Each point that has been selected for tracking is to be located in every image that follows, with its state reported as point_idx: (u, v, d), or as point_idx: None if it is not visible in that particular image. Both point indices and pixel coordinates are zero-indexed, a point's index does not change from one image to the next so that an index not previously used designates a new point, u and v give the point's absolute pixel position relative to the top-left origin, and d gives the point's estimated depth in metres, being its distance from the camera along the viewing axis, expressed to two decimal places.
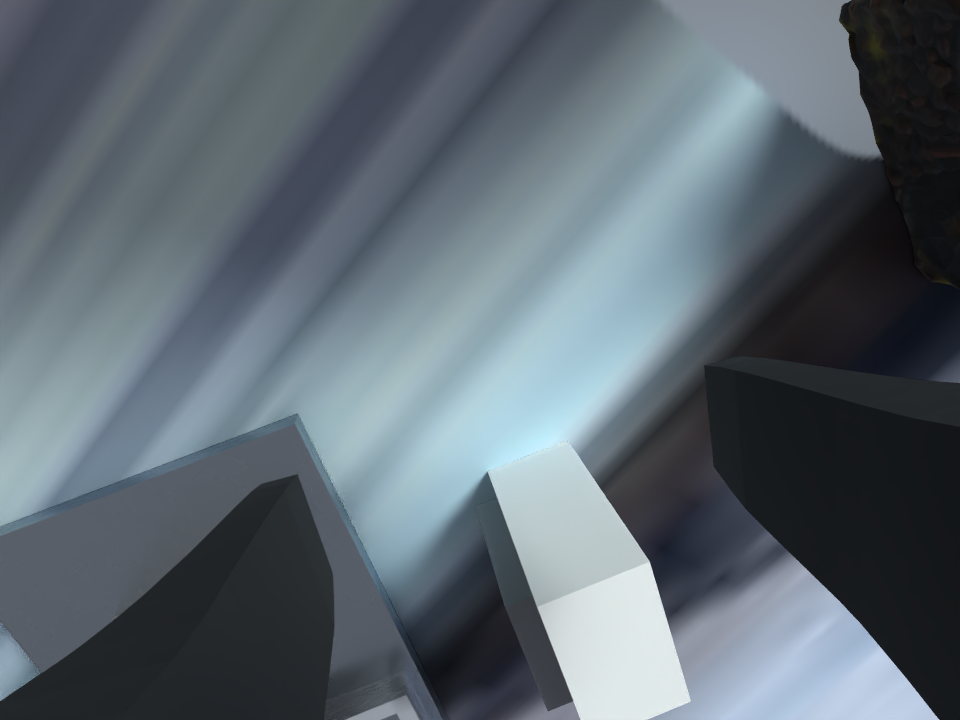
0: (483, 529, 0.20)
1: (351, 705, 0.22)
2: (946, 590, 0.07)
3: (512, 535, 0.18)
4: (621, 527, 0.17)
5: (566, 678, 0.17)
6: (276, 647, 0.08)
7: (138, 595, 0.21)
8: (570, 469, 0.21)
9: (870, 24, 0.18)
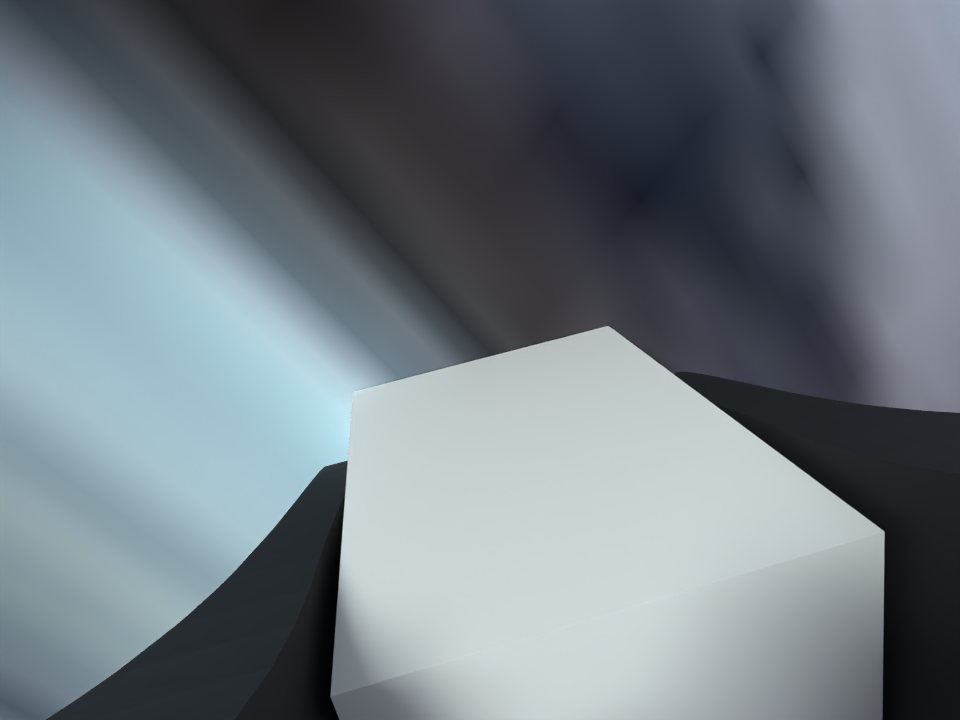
0: None
1: None
2: None
3: None
4: None
5: None
6: None
7: None
8: None
9: None
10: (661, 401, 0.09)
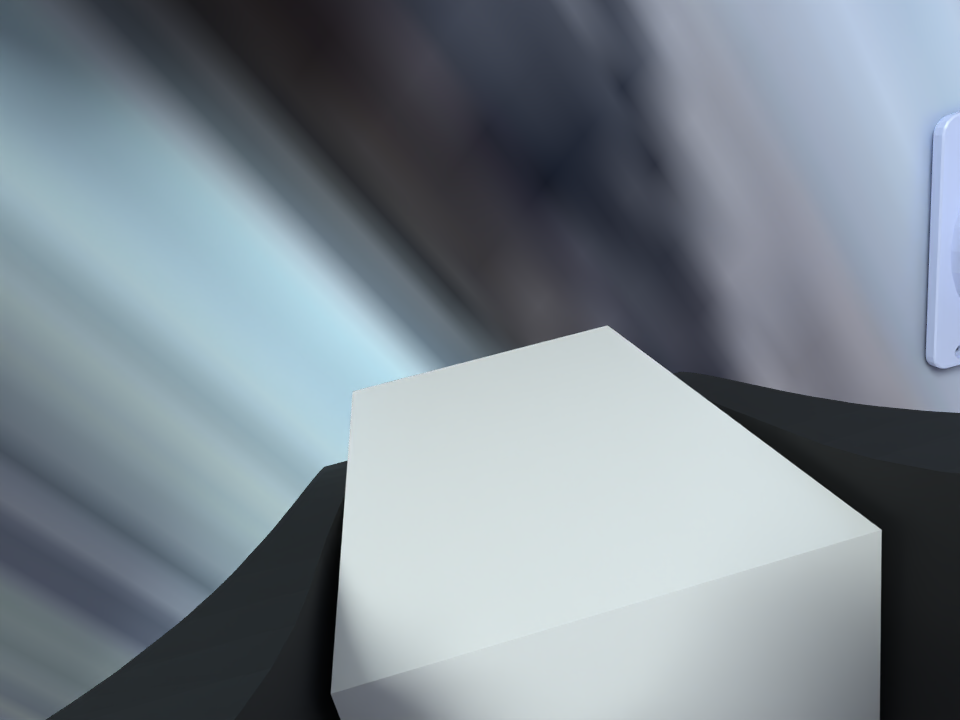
0: None
1: None
2: None
3: None
4: None
5: None
6: None
7: None
8: None
9: None
10: (660, 400, 0.09)
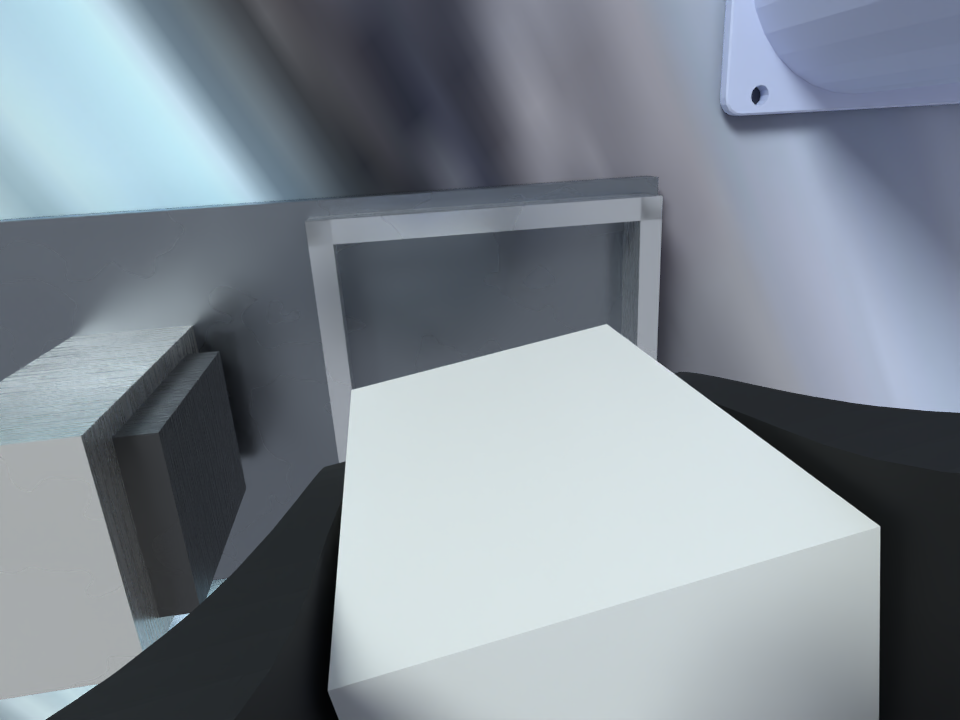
0: None
1: None
2: None
3: None
4: None
5: None
6: None
7: None
8: None
9: None
10: (659, 398, 0.09)
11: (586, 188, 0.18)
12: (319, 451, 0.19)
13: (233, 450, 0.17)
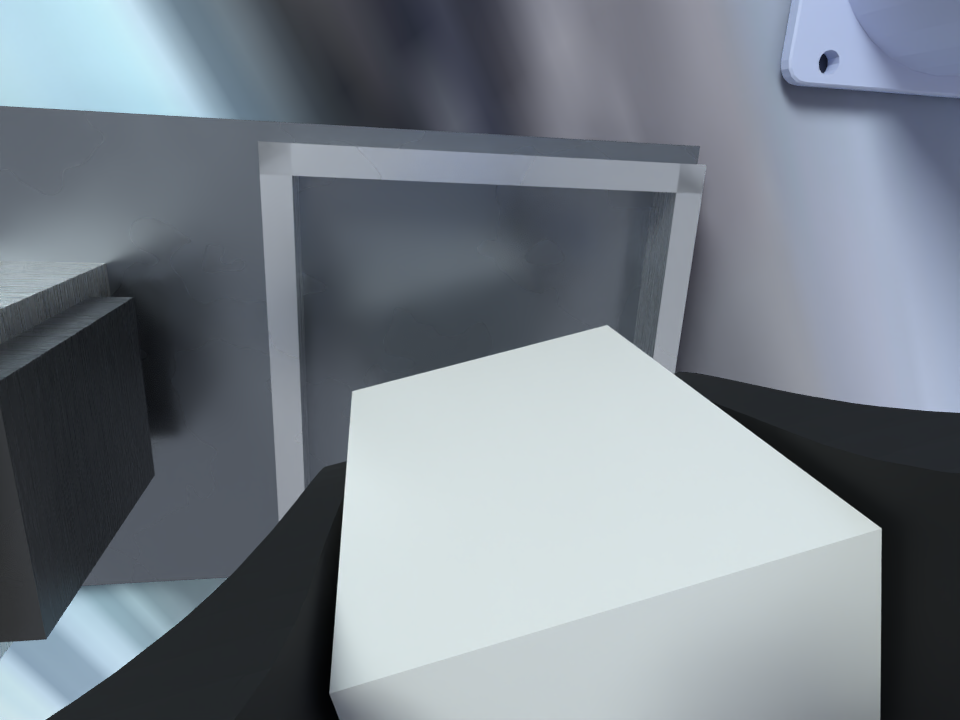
0: None
1: None
2: None
3: None
4: None
5: None
6: None
7: None
8: None
9: None
10: (659, 400, 0.09)
11: (613, 148, 0.14)
12: (254, 438, 0.15)
13: (139, 425, 0.13)
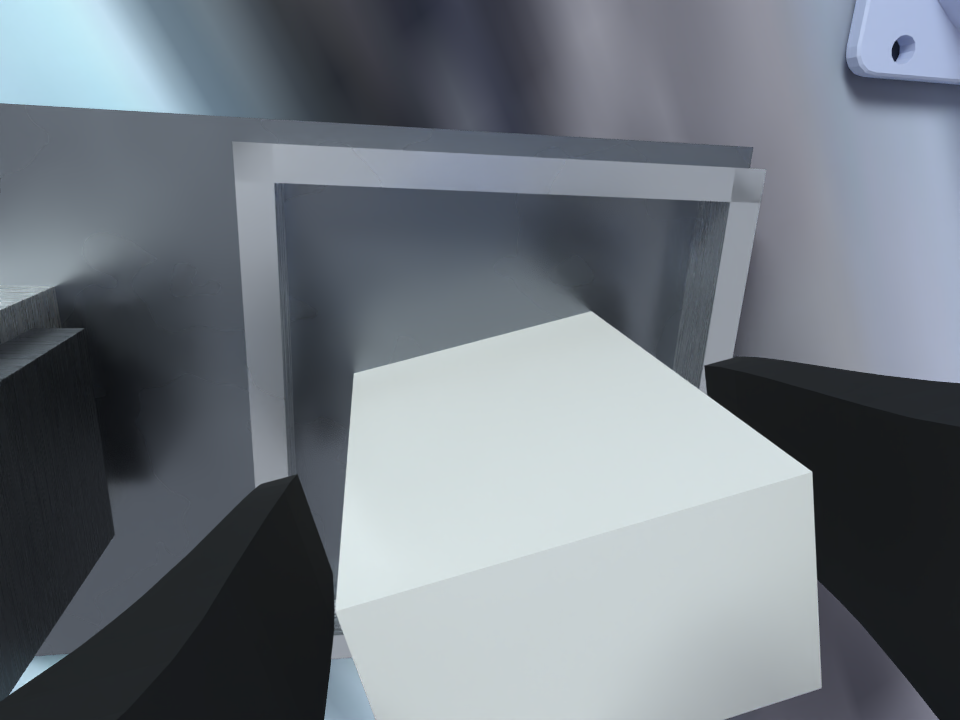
0: None
1: None
2: (946, 590, 0.07)
3: None
4: None
5: None
6: (276, 647, 0.08)
7: None
8: None
9: None
10: (633, 374, 0.10)
11: (653, 150, 0.12)
12: (234, 486, 0.13)
13: (93, 480, 0.11)
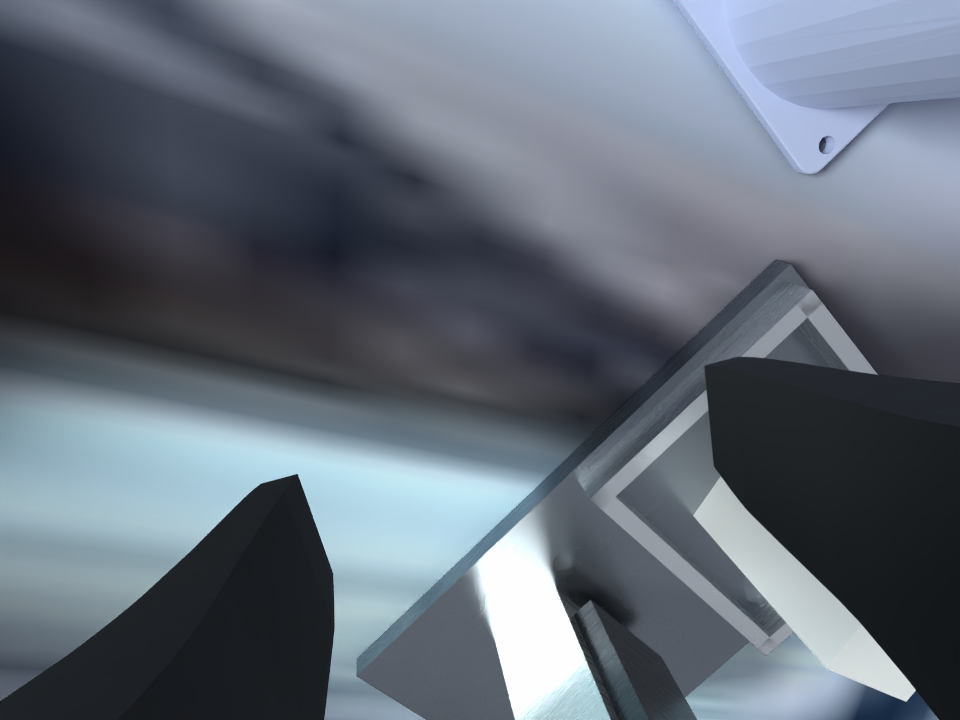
0: None
1: None
2: (946, 590, 0.07)
3: None
4: (790, 625, 0.17)
5: None
6: (276, 647, 0.08)
7: None
8: None
9: None
10: None
11: (743, 314, 0.20)
12: (682, 597, 0.23)
13: (642, 647, 0.22)
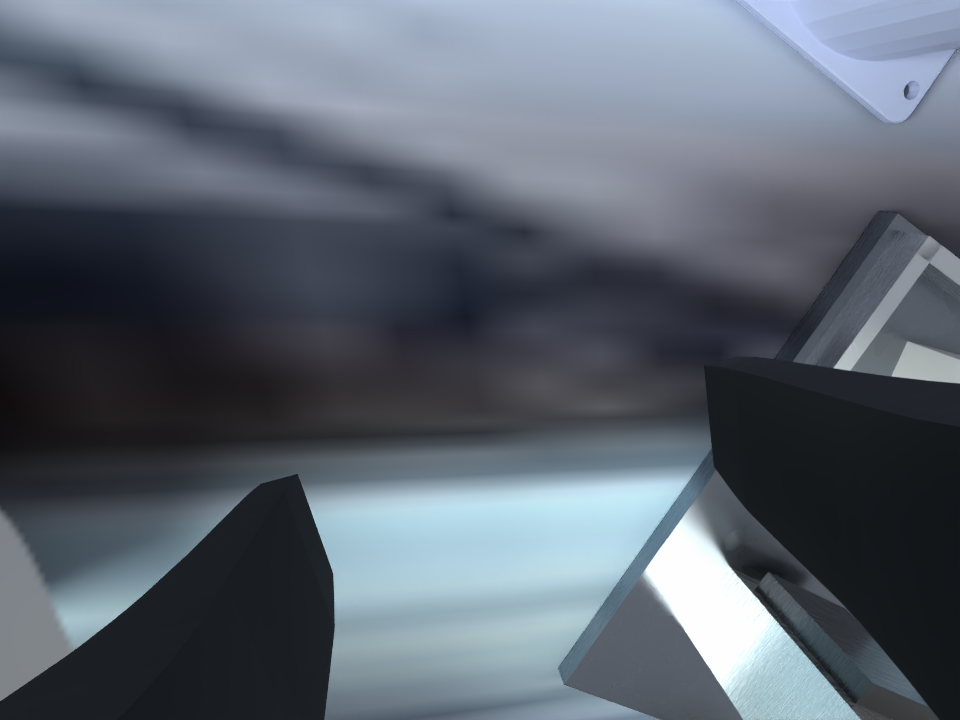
0: None
1: None
2: (946, 590, 0.07)
3: None
4: None
5: None
6: (276, 647, 0.08)
7: None
8: None
9: None
10: None
11: (860, 273, 0.21)
12: None
13: (828, 605, 0.23)
